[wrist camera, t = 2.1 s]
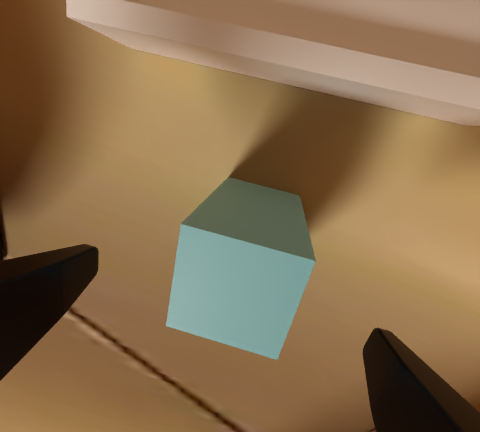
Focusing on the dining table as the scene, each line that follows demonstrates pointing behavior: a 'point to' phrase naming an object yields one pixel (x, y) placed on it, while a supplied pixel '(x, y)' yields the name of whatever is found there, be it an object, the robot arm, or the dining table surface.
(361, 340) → the dining table surface
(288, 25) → the box
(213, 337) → the tall teal block
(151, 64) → the dining table surface
